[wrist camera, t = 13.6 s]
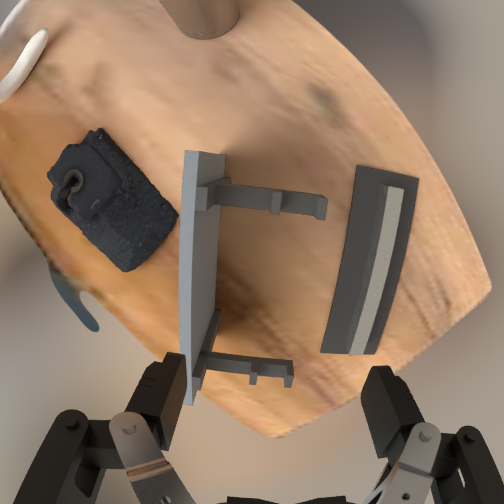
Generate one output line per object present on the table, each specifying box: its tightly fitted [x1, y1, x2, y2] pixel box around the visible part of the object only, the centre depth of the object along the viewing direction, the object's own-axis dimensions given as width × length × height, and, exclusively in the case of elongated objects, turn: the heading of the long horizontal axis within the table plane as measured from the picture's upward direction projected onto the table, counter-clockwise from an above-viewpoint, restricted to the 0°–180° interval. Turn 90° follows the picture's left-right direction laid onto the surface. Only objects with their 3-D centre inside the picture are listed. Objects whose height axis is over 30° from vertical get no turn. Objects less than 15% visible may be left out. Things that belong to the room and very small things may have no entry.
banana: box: [0, 28, 49, 104], centre depth 27 cm, size 5×19×15 cm, turn 133°
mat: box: [320, 165, 419, 354], centre depth 42 cm, size 30×10×1 cm, turn 174°
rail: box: [345, 184, 404, 355], centre depth 40 cm, size 26×2×3 cm, turn 174°
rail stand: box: [179, 150, 328, 406], centre depth 34 cm, size 28×13×16 cm, turn 174°
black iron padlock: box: [47, 128, 178, 272], centre depth 39 cm, size 15×22×5 cm
